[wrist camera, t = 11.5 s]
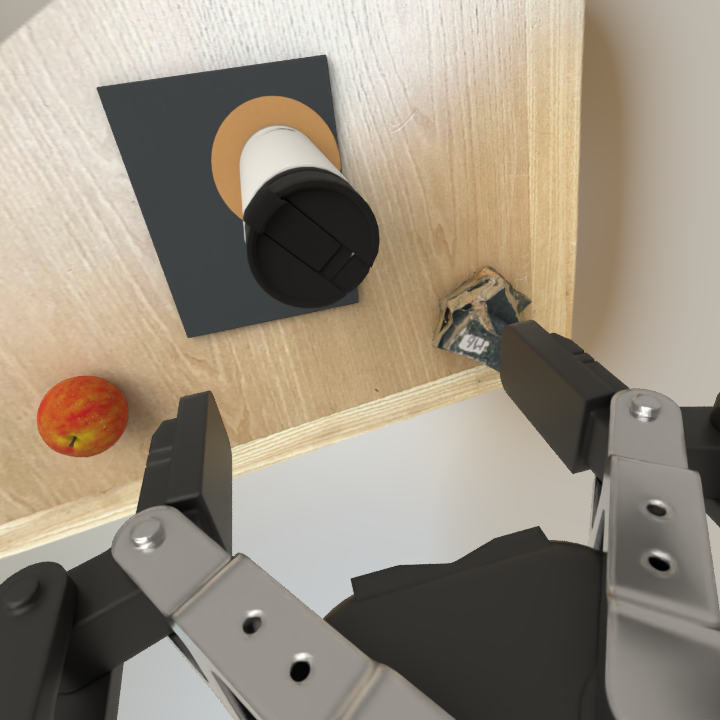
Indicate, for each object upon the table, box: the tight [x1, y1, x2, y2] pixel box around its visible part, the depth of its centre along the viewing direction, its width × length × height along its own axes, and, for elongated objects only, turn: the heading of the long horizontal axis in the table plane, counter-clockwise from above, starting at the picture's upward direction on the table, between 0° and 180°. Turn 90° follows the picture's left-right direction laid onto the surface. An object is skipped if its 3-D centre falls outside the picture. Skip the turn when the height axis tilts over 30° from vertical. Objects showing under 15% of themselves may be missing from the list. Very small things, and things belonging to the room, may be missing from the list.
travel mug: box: [239, 124, 379, 309], centre depth 30 cm, size 6×7×20 cm
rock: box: [432, 266, 532, 372], centre depth 48 cm, size 9×9×6 cm
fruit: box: [37, 376, 128, 457], centre depth 42 cm, size 7×7×8 cm
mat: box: [97, 55, 359, 338], centre depth 40 cm, size 20×16×1 cm
